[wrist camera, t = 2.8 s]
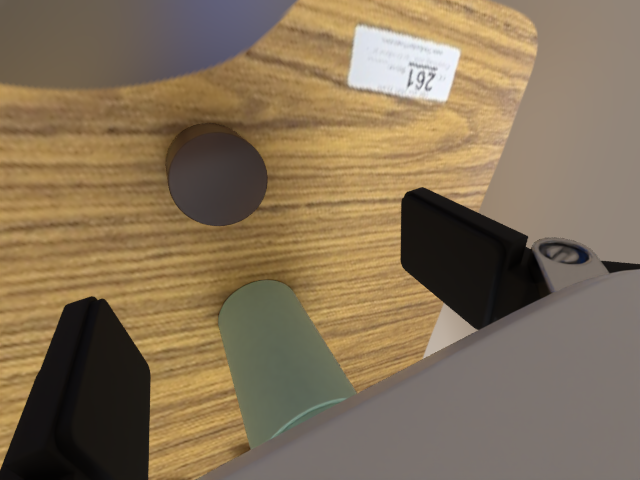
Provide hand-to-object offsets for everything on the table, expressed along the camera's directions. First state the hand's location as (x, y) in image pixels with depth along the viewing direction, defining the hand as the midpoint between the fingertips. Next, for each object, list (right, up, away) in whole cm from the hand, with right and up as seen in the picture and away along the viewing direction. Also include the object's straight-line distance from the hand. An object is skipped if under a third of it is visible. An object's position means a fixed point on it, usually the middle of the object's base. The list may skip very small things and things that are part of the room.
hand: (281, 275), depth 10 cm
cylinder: (-5, +5, +9) cm, 12 cm away
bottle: (-4, -5, +15) cm, 16 cm away
